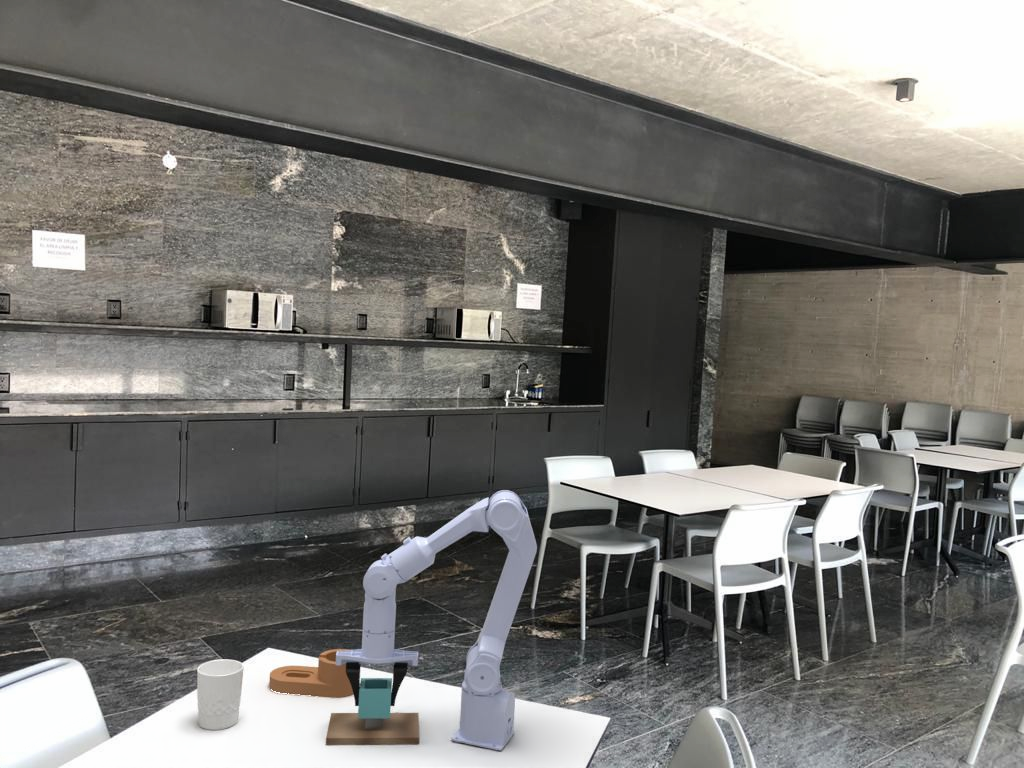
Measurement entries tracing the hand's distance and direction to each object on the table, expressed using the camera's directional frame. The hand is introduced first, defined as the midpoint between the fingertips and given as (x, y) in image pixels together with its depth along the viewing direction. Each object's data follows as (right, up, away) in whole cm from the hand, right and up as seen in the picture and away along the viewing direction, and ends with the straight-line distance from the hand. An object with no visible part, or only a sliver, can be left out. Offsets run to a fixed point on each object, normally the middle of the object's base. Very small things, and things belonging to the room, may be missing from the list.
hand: (375, 703), depth 147 cm
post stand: (0, -5, 0) cm, 5 cm away
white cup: (-28, -4, +1) cm, 29 cm away
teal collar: (0, -2, 0) cm, 2 cm away
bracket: (-15, -4, +18) cm, 24 cm away
